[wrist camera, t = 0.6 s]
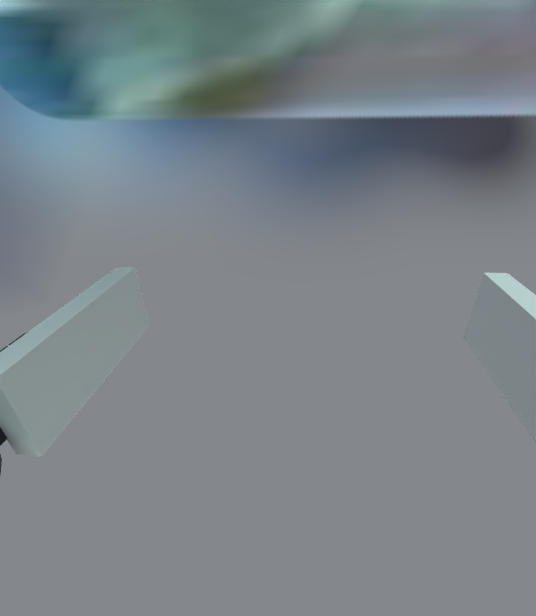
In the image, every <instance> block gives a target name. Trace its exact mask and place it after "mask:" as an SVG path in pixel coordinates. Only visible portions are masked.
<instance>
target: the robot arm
mask: <svg viewBox="0 0 536 616" xmlns="http://www.w3.org/2000/svg"><path fill="white" fill-rule="evenodd" d="M149 325H150V323H149V319H148V316H147V311H146V308H145V304H144V300H143V296H142V292H141V289H140V284H139V280H138V277H137V273H136V269H135V267H117V268H116V269H114V270H113V271H112V272H110V273H109V274H107V275H106V276H105V277H103V278H102V279H101V280H99V281H98V282H96V283H95V284H94V285H92V286H91V287H90V288H88V289H87V290H85V291H84V292H83V293H81V294H80V295H78V296H77V297H76V298H75V299H73V300H72V301H70V302H69V303H67V304H66V305H65V306H63V307H62V308H61V309H59V310H58V311H56V312H55V313H54V314H52V315H51V316H50V317H48V318H47V319H46V320H44V321H43V322H41V323H40V324H39V325H37V326H36V327H35V328H33V329H32V330H30V331H29V332H27V333H25V334H23V335H22V336H20V337H19V338H17V339H16V340H15V341H13V342H12V343H10V344H9V346H6V347H5V348H3V349H2V350H1V351H0V445H1V444H2V443H3V442H4V441H5V440H6V439H7V440H8V442H9V443H10V445H11V447H12V448H13V449H14V451H15V453H16V454H22V455H33V456H42V455H43V454H44V453H45V451H46V450H47V449H48V448H49V447H50V445H51V444H52V443H53V442H54V441H55V439H56V438H57V437H58V436H59V435H60V433H61V432H62V431H63V429H64V428H65V427H66V426H67V425H68V423H69V422H70V421H71V420H72V419H73V418H74V416H75V415H76V414H77V413H78V411H79V410H80V409H81V408H82V406H83V405H84V404H85V403H86V402H87V401H88V399H89V398H90V397H91V396H92V394H93V393H94V392H95V391H96V390H97V388H98V387H99V386H100V385H101V384H102V382H103V381H104V380H105V379H106V377H107V376H108V375H109V374H110V373H111V371H112V370H113V369H114V368H115V367H116V365H117V364H118V363H119V362H120V360H121V359H122V358H123V357H124V356H125V354H126V353H127V352H128V351H129V349H130V348H131V347H132V346H133V345H134V343H135V342H136V341H137V340H138V338H139V337H140V336H141V335H142V334H143V333H144V331H145V330H146V329H147V328H148V326H149ZM464 339H465V340H466V342H467V343H468V344H469V346H470V347H471V349H472V350H473V352H474V353H475V354H476V356H477V358H478V359H479V361H480V362H481V363H482V365H483V366H484V368H485V369H486V370H487V372H488V374H489V375H490V377H491V378H492V379H493V381H494V382H495V384H496V385H497V387H498V388H499V390H500V391H501V393H502V394H503V395H504V397H505V398H506V399H507V401H508V403H509V404H510V405H511V407H512V409H513V410H514V411H515V413H516V414H517V416H518V417H519V419H520V420H521V422H522V423H523V425H524V426H525V427H526V429H527V430H528V432H529V433H530V435H531V436H532V437H533V439H534V440H535V442H536V295H535V294H533V293H532V292H531V291H529V290H528V289H527V288H526V287H524V286H523V285H522V284H520V283H519V282H518V281H517V280H515V279H514V278H513V277H512V276H510V275H509V274H508V273H484V274H483V277H482V281H481V283H480V287H479V290H478V293H477V296H476V300H475V303H474V306H473V309H472V312H471V315H470V318H469V321H468V325H467V328H466V331H465V334H464ZM1 461H2V459H1V455H0V473H1Z"/></svg>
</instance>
